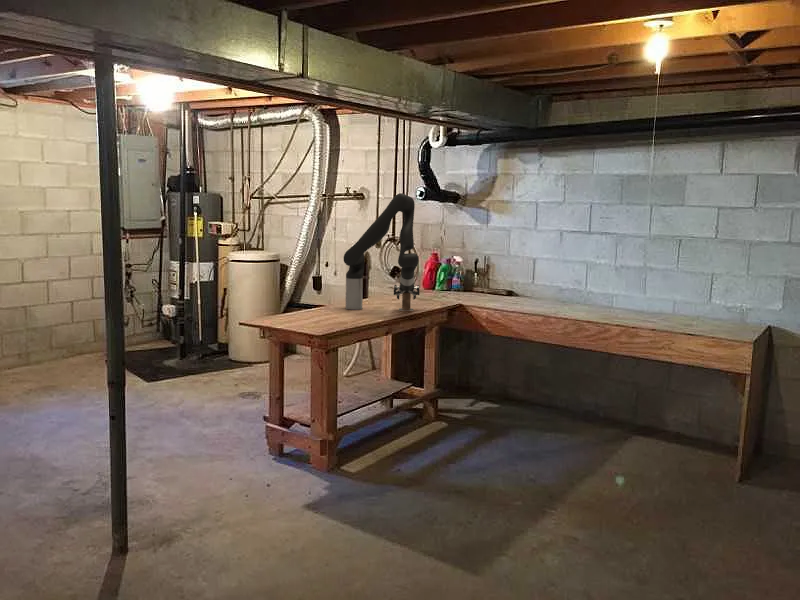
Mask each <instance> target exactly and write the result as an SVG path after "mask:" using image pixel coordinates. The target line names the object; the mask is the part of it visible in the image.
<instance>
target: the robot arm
mask: <svg viewBox="0 0 800 600" xmlns="http://www.w3.org/2000/svg"><path fill="white" fill-rule="evenodd" d="M415 205H416V204H415V200H414V198H412V197H411V196H409V195H407V194H404V193H397V194H396V195H395V196H394V197H393V198H392V199H391V201H389V203H388V204H387V206H386V208H385V209H384V210H383V211H382V212H381V214H379V216H378V217H377V218H376V220H375V221H373V223H371V225H370V226H368V228H367V229H366V231H365V232H364V233H363V234H362V235H361V236H360V237H359V239H358V240H357V241H356V242H355V243H354V244H353V245H352V246H351V247H350V248H349V249H347V250H346V251H345V252H344V255H343V262H344V264H345V265H346V266H348V270H347V271H346V274H345V310H354V311H356V310H357V311H358V310H363V290H364V289H363V286H364V285H363V284H364V283H363V278H364V277H363V275H364V272H365V253H366V252H367V251H368V250H369V249H371V248H372V247H374V246H375V245H376V244H378V243H379V242H380V241H381V240H383V238H384V237H386V235H387V233H389V230H390V227H391V223H392V220H393V218H394V217H395V216H396V215H398V213H399V212H400V213H402V217H403V222H402V225H401V229H400V231H399V243H400V245H399V246H400V247H399V249H400V250H399V254H398V259H397V263H398V265H399V267H401V271H400V278H399V285H398V286H397V285H396V284H394V285H393V286H394V287H393V295H394V296H396V299H397V300H400V296H401V295H402V293H411V295H412V300H415V299H417V296H420V294H421V293H420V285H419V284H418V285H416V286H415V270H416V269H417V266H418V265H419V259H420V258H419V256H418V254H416V253H413V252H412V253H409V252H408V251H411V250H413V249H414V248H415V243H414V221H415V219H414V217H415V207H416V206H415ZM406 252H408V253H406Z"/></svg>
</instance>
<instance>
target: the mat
mask: <svg viewBox="0 0 800 600" xmlns="http://www.w3.org/2000/svg"><path fill="white" fill-rule="evenodd" d="M398 311H401V312H403V311H404V312H405V311H406V312H407V311H408V312H411V311H412V312H414V308H411V307H410V310H402V307H398Z"/></svg>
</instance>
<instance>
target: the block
mask: <svg viewBox="0 0 800 600" xmlns="http://www.w3.org/2000/svg"><path fill="white" fill-rule="evenodd" d="M401 295H402V298H401V301H402V302H401V308H402V310H410V308H411V304H412V303H411V301H412V299H411V296H412V294H411V293H402V294H401Z"/></svg>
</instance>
